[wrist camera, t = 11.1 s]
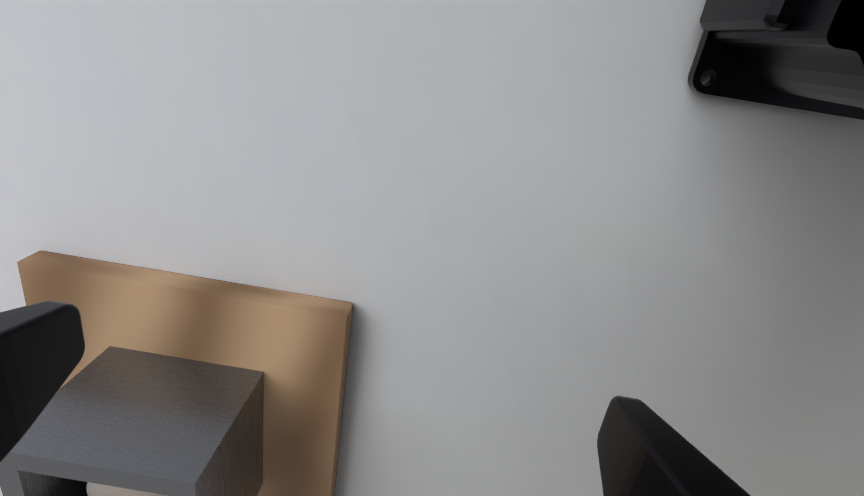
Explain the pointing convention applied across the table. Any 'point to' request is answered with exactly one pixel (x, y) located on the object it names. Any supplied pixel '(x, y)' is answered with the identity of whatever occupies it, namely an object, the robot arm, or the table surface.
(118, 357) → the duct collar
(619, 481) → the robot arm
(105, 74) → the table surface
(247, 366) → the board
